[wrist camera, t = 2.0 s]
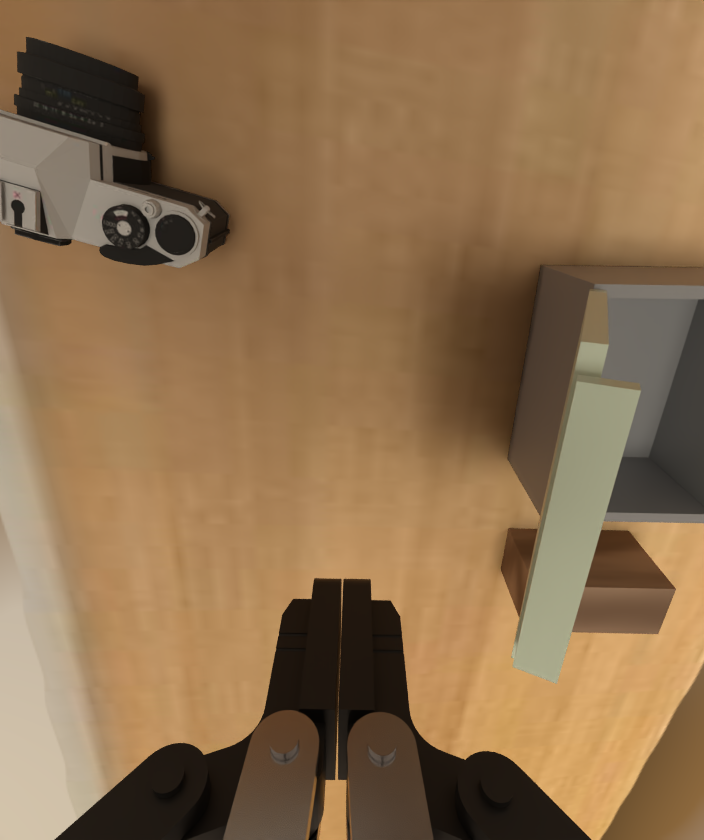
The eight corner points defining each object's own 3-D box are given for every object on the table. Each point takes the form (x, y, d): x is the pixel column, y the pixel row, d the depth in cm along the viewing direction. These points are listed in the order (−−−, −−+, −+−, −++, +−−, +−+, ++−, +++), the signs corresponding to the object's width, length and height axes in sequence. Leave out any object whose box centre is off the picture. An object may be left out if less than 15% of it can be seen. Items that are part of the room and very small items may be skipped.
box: (541, 264, 28) (594, 283, 21) (712, 267, 28) (817, 287, 21) (507, 459, 33) (542, 519, 27) (650, 461, 33) (719, 523, 27)
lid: (629, 291, 21) (589, 288, 22) (650, 360, 12) (579, 351, 12) (570, 524, 26) (540, 517, 27) (552, 699, 17) (506, 680, 18)
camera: (253, 109, 25) (201, 65, 17) (234, 261, 28) (182, 287, 20) (-5, 40, 24) (-194, -44, 16) (6, 206, 27) (-147, 208, 19)
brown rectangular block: (508, 527, 36) (534, 586, 30) (627, 529, 36) (675, 589, 30) (500, 568, 38) (524, 631, 32) (614, 570, 38) (658, 633, 32)
